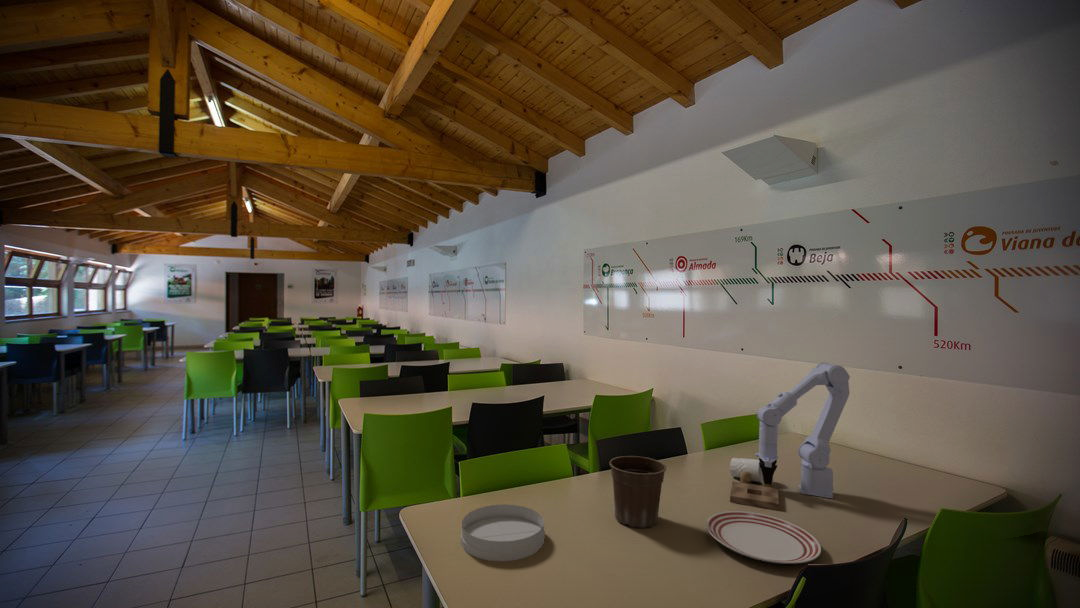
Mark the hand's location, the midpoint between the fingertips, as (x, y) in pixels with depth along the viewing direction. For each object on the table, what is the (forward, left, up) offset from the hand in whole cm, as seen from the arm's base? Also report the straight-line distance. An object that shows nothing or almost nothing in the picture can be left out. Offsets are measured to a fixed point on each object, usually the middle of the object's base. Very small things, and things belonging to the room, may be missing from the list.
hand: (767, 482), depth 166 cm
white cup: (+12, -9, +1) cm, 15 cm away
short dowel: (+7, -2, -3) cm, 8 cm away
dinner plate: (+2, +43, -3) cm, 43 cm away
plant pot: (+35, +43, -3) cm, 56 cm away
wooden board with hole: (+4, +10, -3) cm, 11 cm away
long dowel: (0, 0, -3) cm, 3 cm away
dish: (+64, +71, -3) cm, 96 cm away
